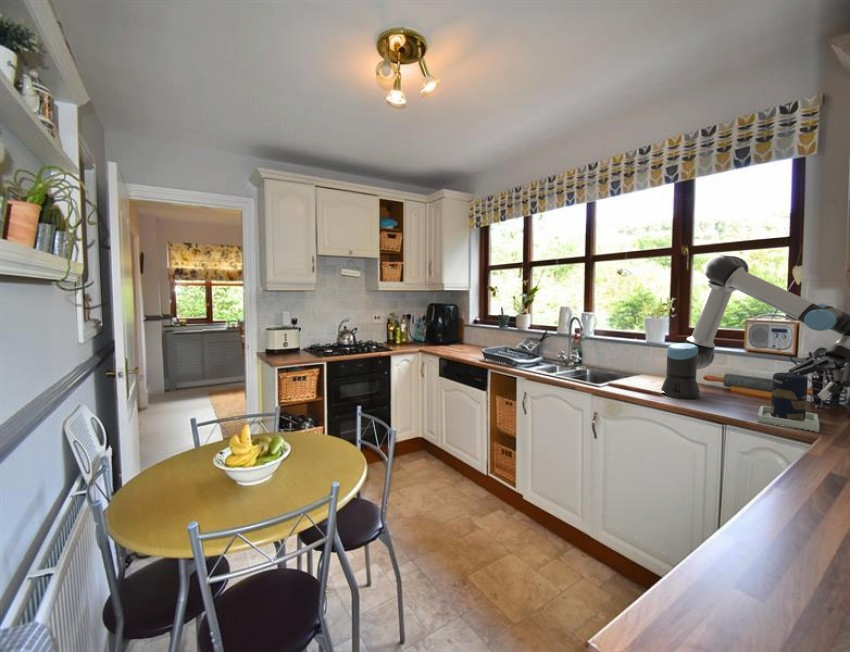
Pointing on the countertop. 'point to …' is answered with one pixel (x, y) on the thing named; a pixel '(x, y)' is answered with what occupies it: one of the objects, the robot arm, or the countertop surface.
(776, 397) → the canister
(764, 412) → the tray
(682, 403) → the countertop surface
